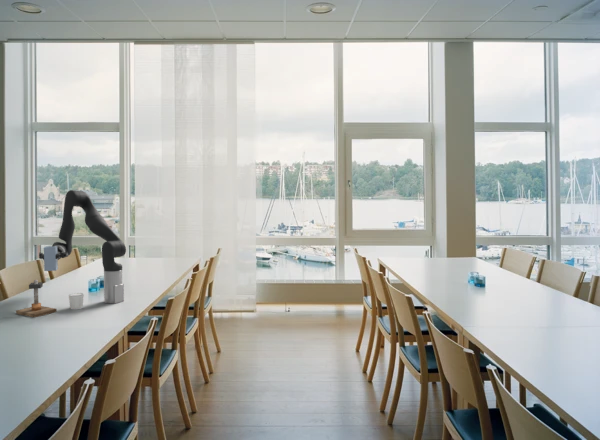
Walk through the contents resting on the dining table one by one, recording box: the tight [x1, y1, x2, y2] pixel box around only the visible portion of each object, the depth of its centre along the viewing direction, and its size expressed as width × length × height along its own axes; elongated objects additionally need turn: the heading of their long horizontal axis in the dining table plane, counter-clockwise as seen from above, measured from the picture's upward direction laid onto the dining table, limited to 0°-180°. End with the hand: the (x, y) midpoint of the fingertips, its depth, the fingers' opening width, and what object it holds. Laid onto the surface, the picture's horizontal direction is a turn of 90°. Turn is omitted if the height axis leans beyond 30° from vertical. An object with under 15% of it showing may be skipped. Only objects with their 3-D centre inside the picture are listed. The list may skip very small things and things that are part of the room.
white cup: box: [68, 292, 85, 310], centre depth 217 cm, size 7×7×7 cm
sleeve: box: [43, 245, 59, 272], centre depth 219 cm, size 5×5×12 cm
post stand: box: [15, 279, 58, 318], centre depth 207 cm, size 14×11×16 cm
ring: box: [28, 281, 44, 290], centre depth 207 cm, size 5×5×2 cm
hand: (49, 257), depth 217 cm, fingers closed on sleeve, 5 cm apart
